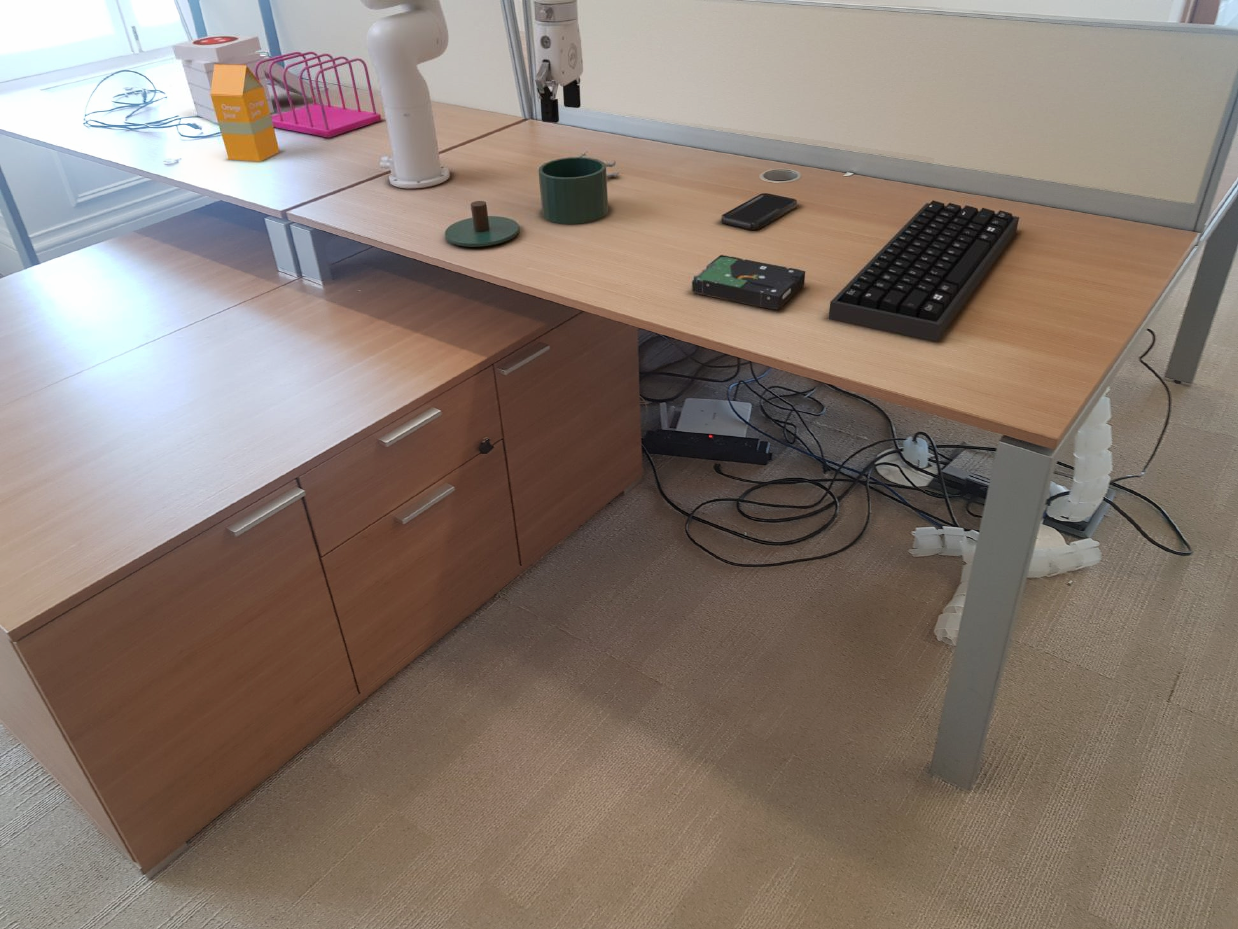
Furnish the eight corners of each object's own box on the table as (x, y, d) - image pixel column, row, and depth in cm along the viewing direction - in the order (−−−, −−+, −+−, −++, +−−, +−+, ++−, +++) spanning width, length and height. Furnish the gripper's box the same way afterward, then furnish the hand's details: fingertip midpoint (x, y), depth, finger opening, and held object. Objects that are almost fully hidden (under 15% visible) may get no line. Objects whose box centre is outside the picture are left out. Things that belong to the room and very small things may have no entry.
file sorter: (329, 139, 226) (314, 70, 217) (263, 126, 238) (246, 60, 229) (382, 120, 237) (370, 54, 228) (317, 109, 250) (303, 46, 241)
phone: (719, 216, 169) (763, 192, 179) (719, 222, 170) (763, 197, 179) (756, 225, 165) (799, 199, 174) (756, 231, 166) (799, 205, 175)
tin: (532, 220, 175) (527, 175, 170) (558, 198, 185) (555, 155, 180) (593, 226, 171) (590, 180, 166) (617, 203, 181) (615, 159, 176)
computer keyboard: (936, 342, 130) (941, 317, 128) (828, 318, 137) (830, 294, 135) (1016, 232, 161) (1020, 210, 158) (924, 217, 168) (927, 196, 166)
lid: (432, 245, 167) (426, 213, 164) (467, 219, 177) (463, 188, 174) (499, 253, 163) (494, 220, 160) (531, 225, 173) (528, 193, 170)
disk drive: (805, 286, 147) (719, 269, 153) (806, 270, 145) (720, 252, 152) (778, 313, 140) (690, 293, 146) (780, 296, 138) (690, 276, 145)
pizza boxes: (321, 103, 255) (305, 31, 245) (216, 128, 239) (194, 52, 228) (288, 92, 267) (272, 23, 256) (185, 115, 251) (164, 43, 240)
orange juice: (259, 161, 213) (235, 68, 202) (227, 159, 216) (201, 67, 204) (280, 151, 219) (257, 60, 208) (249, 149, 222) (224, 59, 210)
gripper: (554, 23, 153) (561, 129, 163) (595, 3, 166) (598, 103, 176) (513, 20, 156) (522, 126, 166) (556, 1, 169) (562, 100, 179)
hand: (561, 114), depth 171 cm, fingers open, 9 cm apart
